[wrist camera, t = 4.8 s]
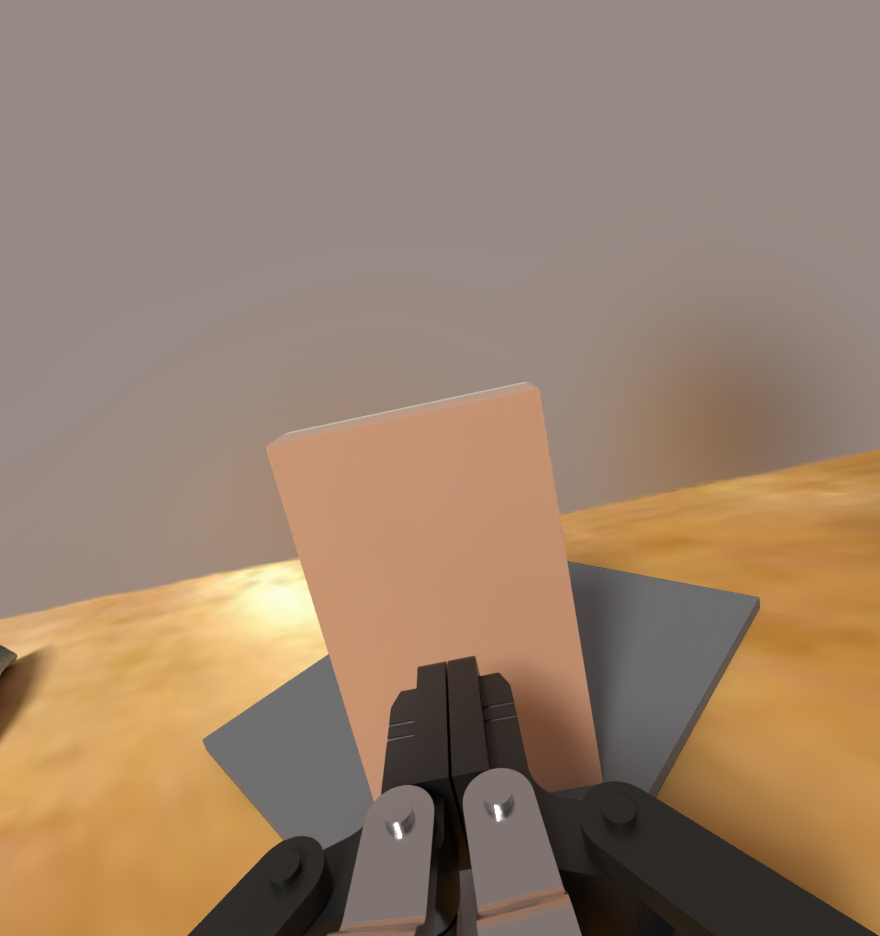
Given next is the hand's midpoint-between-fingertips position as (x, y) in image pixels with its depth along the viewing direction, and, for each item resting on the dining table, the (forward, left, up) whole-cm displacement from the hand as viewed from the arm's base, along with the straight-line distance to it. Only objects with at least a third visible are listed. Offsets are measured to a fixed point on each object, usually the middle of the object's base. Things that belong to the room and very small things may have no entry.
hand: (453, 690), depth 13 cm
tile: (-3, -3, -7) cm, 9 cm away
